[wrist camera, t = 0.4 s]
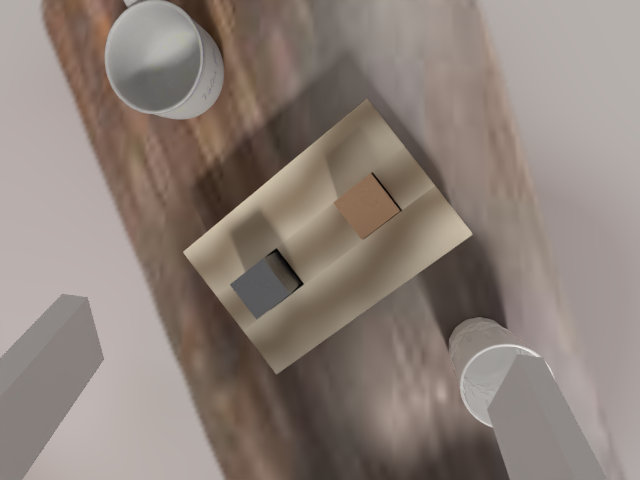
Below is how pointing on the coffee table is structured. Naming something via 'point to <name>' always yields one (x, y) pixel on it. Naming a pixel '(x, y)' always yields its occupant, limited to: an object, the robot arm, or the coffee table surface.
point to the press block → (328, 237)
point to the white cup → (483, 361)
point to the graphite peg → (266, 284)
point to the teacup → (163, 61)
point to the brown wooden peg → (366, 206)
